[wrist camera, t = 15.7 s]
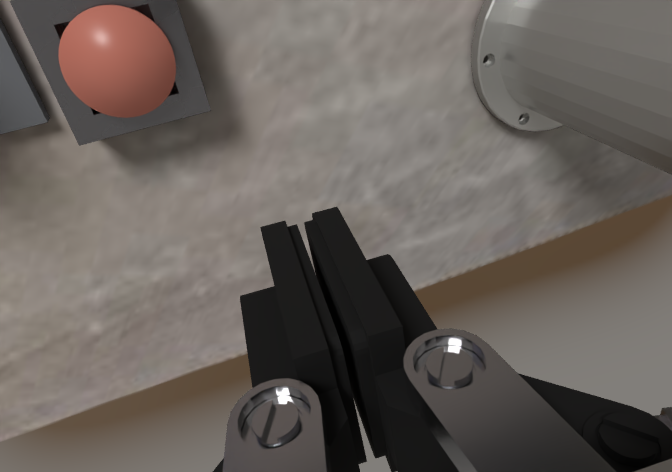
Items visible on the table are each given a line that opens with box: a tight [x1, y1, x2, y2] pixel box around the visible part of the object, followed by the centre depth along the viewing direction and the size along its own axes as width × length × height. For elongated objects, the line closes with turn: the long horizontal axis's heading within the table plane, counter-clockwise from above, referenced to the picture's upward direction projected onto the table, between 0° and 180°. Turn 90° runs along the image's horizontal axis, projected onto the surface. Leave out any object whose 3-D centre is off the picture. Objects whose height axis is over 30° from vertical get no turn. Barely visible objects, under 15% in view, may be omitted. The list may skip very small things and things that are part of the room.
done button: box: [58, 4, 176, 118], centre depth 26 cm, size 5×5×3 cm
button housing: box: [10, 0, 211, 145], centre depth 26 cm, size 7×7×3 cm
